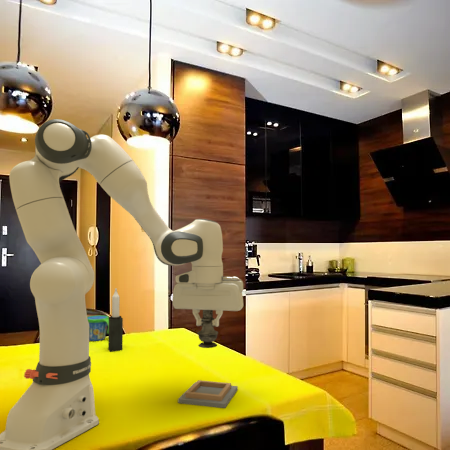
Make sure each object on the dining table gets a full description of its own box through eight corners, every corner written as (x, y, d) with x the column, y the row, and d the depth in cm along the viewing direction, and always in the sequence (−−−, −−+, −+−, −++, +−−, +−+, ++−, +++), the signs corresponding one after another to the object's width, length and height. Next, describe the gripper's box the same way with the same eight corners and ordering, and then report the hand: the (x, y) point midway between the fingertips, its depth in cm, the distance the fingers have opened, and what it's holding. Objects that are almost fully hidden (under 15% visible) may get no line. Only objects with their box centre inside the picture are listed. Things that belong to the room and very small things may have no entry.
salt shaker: (205, 349, 100) (205, 304, 101) (193, 345, 105) (193, 302, 106) (222, 345, 104) (222, 302, 105) (210, 341, 109) (210, 300, 109)
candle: (107, 349, 154) (108, 288, 156) (120, 347, 157) (120, 287, 159) (110, 351, 150) (110, 289, 152) (122, 350, 152) (123, 288, 154)
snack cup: (117, 339, 172) (117, 316, 173) (99, 344, 163) (99, 320, 164) (93, 335, 180) (94, 314, 180) (75, 340, 171) (75, 317, 171)
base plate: (225, 408, 95) (225, 399, 95) (178, 402, 99) (177, 394, 99) (237, 389, 108) (237, 381, 108) (195, 385, 111) (195, 378, 111)
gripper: (245, 276, 106) (246, 325, 105) (178, 275, 112) (178, 322, 111) (240, 277, 100) (241, 330, 99) (170, 276, 106) (170, 326, 105)
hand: (207, 325), depth 105 cm, fingers closed on salt shaker, 3 cm apart
